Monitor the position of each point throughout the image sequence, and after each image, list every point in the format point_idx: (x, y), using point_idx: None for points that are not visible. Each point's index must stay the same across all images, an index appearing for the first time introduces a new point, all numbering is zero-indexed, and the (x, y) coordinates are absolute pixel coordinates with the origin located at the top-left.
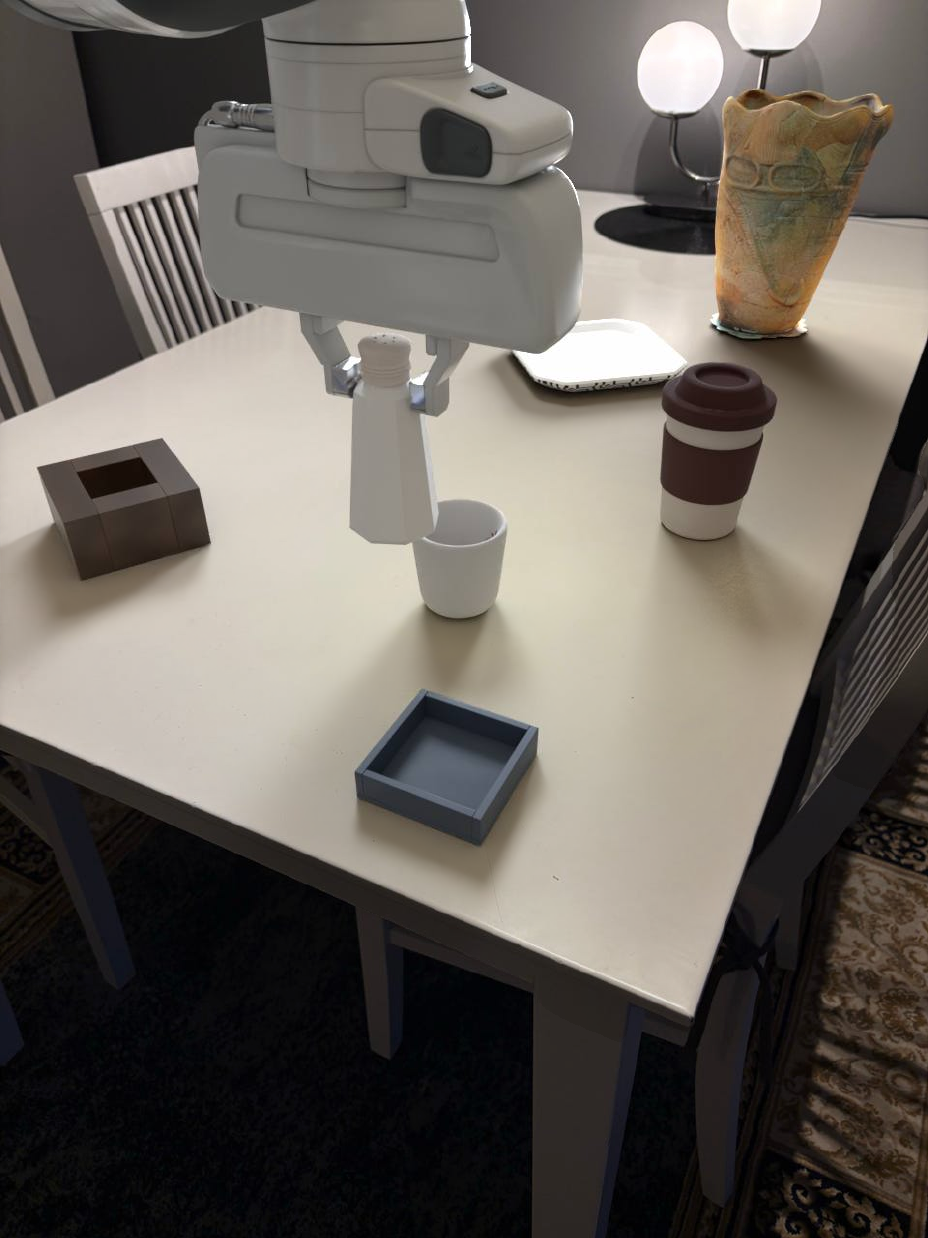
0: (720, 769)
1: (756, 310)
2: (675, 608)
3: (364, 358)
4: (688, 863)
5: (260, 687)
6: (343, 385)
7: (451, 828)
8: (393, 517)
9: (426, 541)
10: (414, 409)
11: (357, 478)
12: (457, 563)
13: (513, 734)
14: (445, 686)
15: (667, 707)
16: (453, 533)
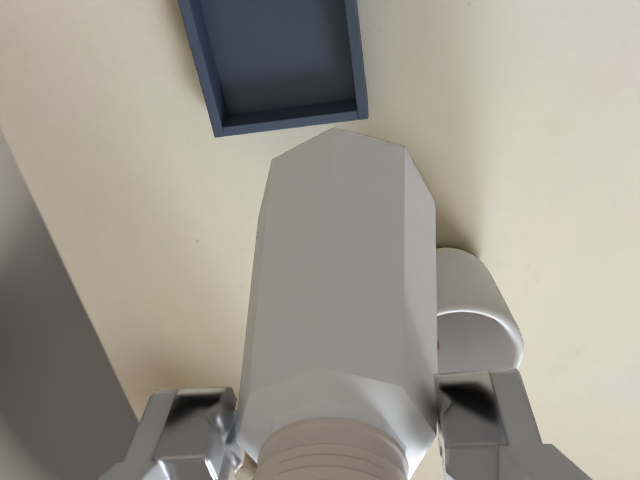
0: (75, 199)
1: None
2: (240, 363)
3: None
4: (17, 76)
5: (589, 23)
6: (452, 399)
7: None
8: (288, 179)
9: (473, 308)
10: (210, 390)
11: (376, 209)
12: None
13: (241, 120)
14: None
15: (163, 245)
16: (477, 348)
